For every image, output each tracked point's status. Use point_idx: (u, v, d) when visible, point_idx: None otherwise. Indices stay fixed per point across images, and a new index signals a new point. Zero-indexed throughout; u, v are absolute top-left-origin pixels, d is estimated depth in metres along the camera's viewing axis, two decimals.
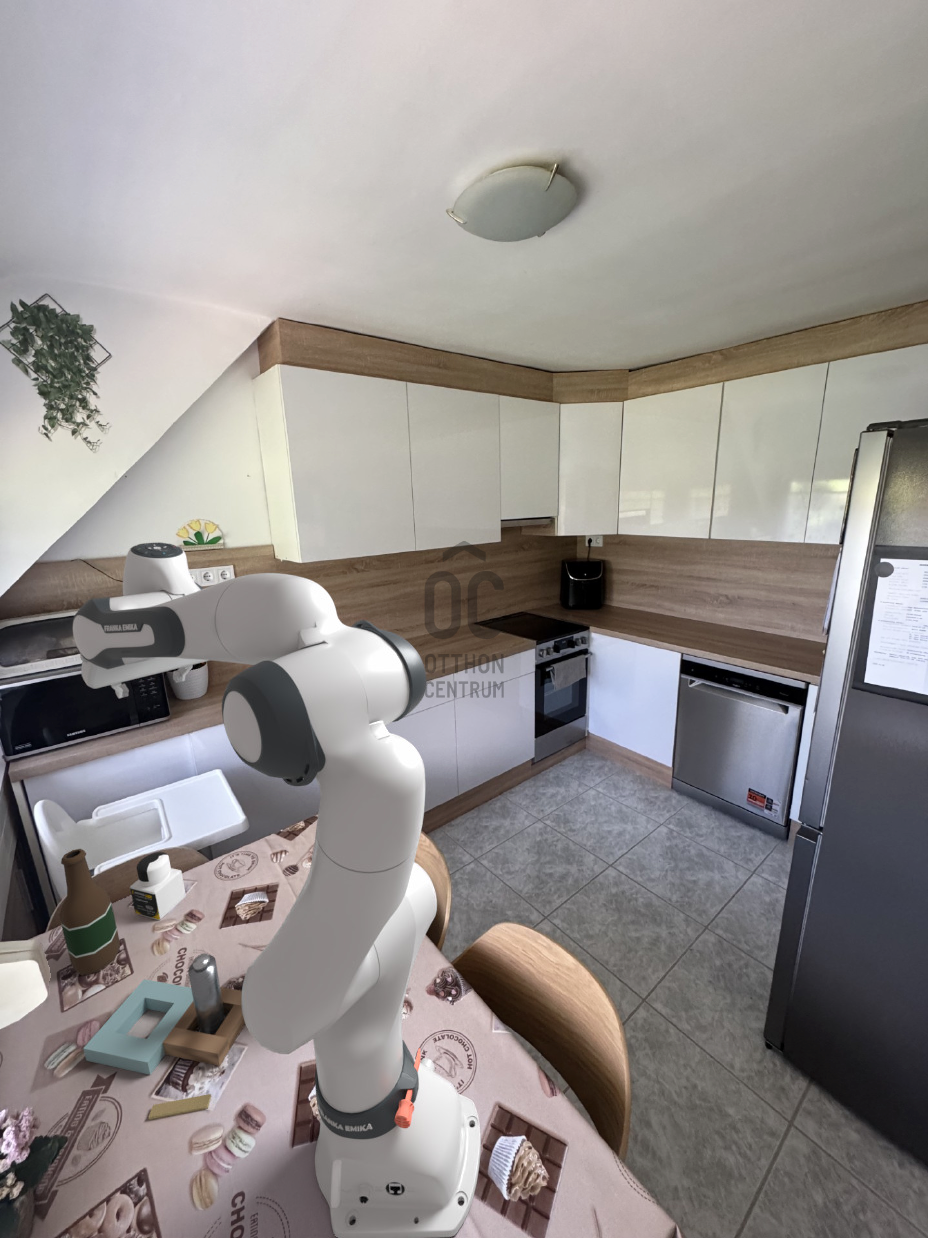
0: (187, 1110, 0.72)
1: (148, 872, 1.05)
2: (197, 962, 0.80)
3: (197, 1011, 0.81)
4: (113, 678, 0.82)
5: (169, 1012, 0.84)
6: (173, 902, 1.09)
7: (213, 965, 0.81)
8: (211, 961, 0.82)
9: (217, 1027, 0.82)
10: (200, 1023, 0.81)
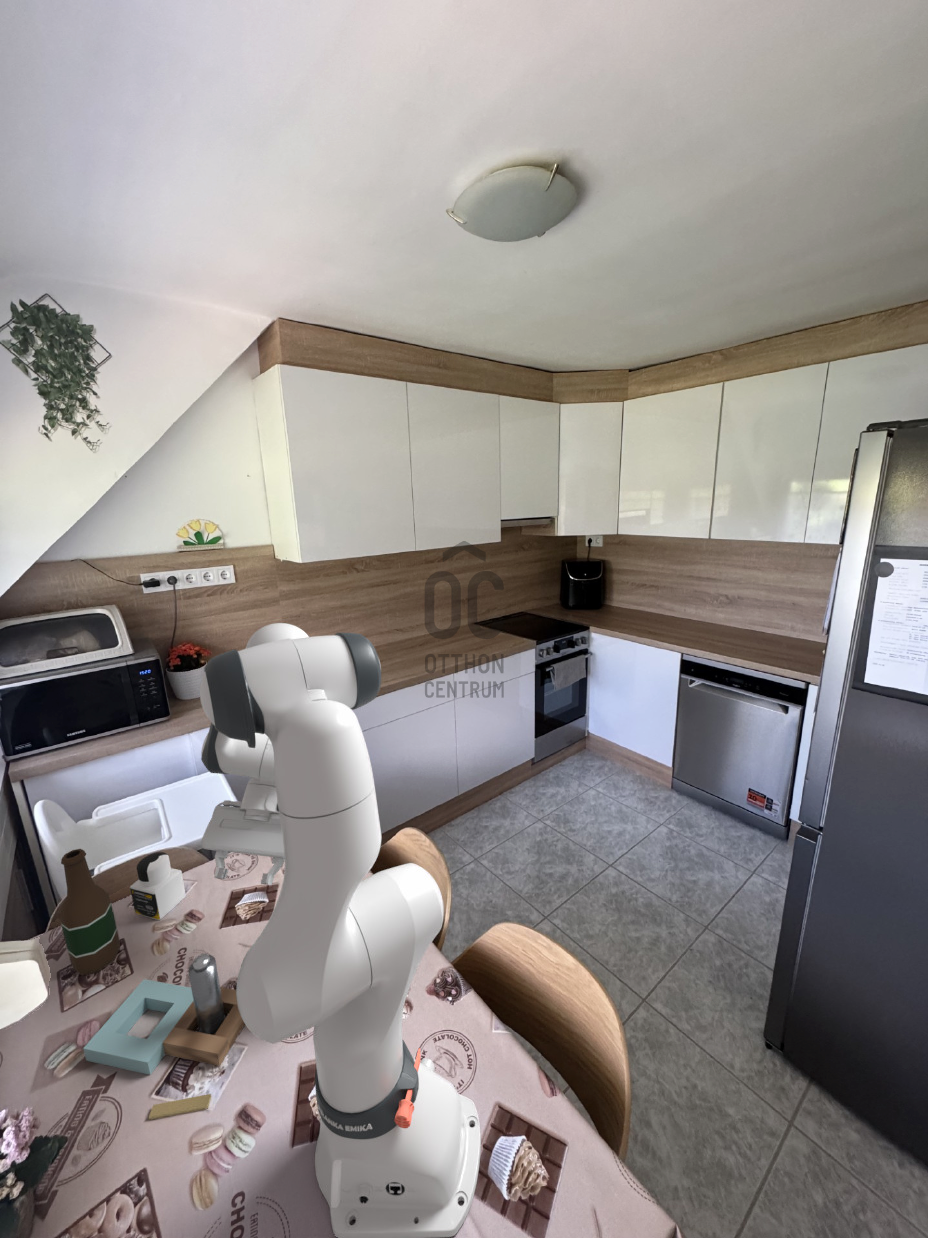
0: (188, 1110, 0.72)
1: (148, 872, 1.05)
2: (197, 962, 0.80)
3: (197, 1011, 0.81)
4: (217, 840, 0.95)
5: (169, 1012, 0.84)
6: (173, 902, 1.09)
7: (213, 965, 0.81)
8: (211, 961, 0.82)
9: (217, 1027, 0.82)
10: (200, 1023, 0.81)
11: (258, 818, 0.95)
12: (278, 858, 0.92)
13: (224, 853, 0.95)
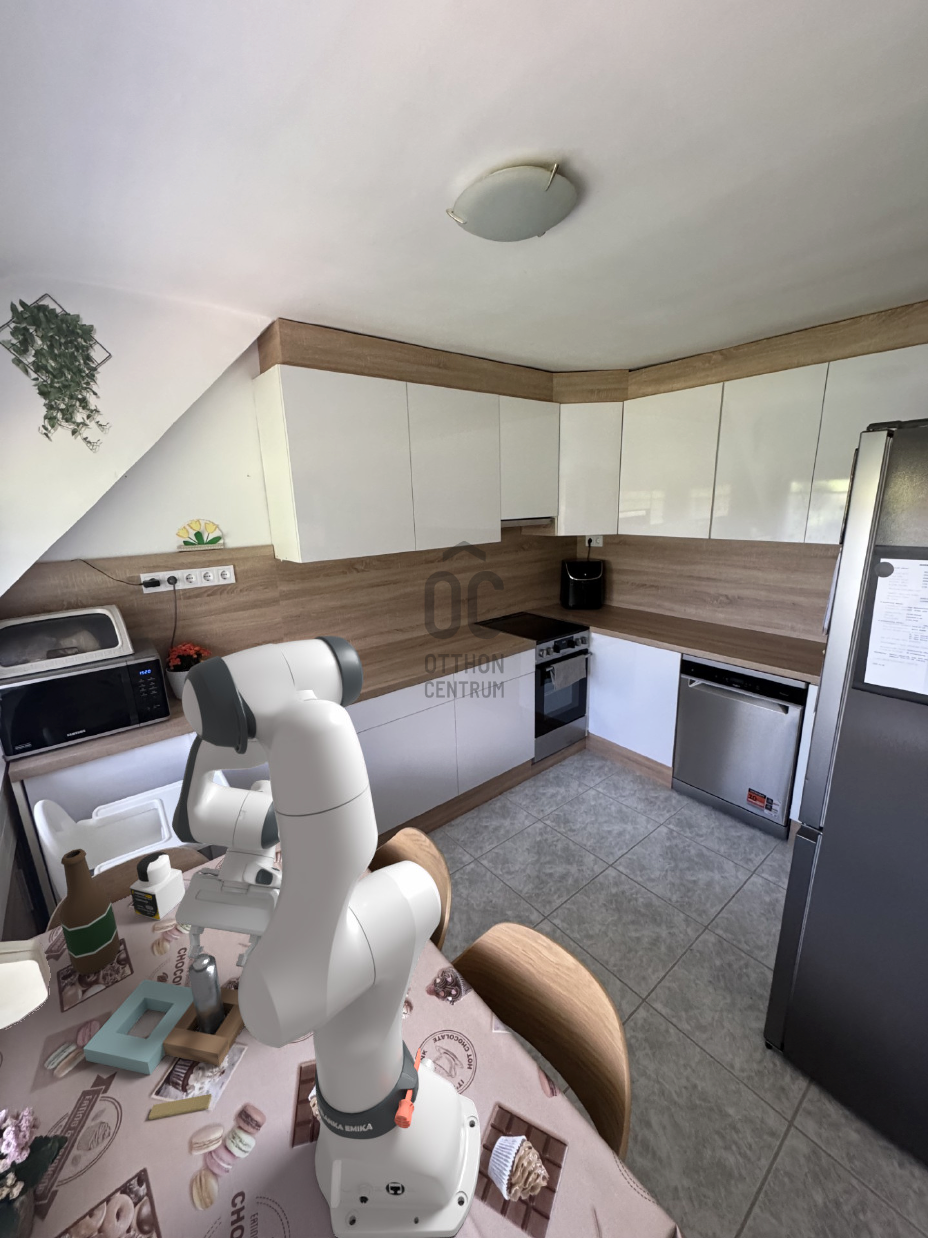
0: (188, 1110, 0.72)
1: (148, 872, 1.05)
2: (197, 962, 0.80)
3: (197, 1011, 0.81)
4: (192, 914, 0.87)
5: (169, 1012, 0.84)
6: (173, 902, 1.09)
7: (213, 965, 0.81)
8: (211, 961, 0.82)
9: (217, 1027, 0.82)
10: (200, 1023, 0.81)
11: (236, 890, 0.87)
12: (256, 936, 0.85)
13: (199, 929, 0.87)
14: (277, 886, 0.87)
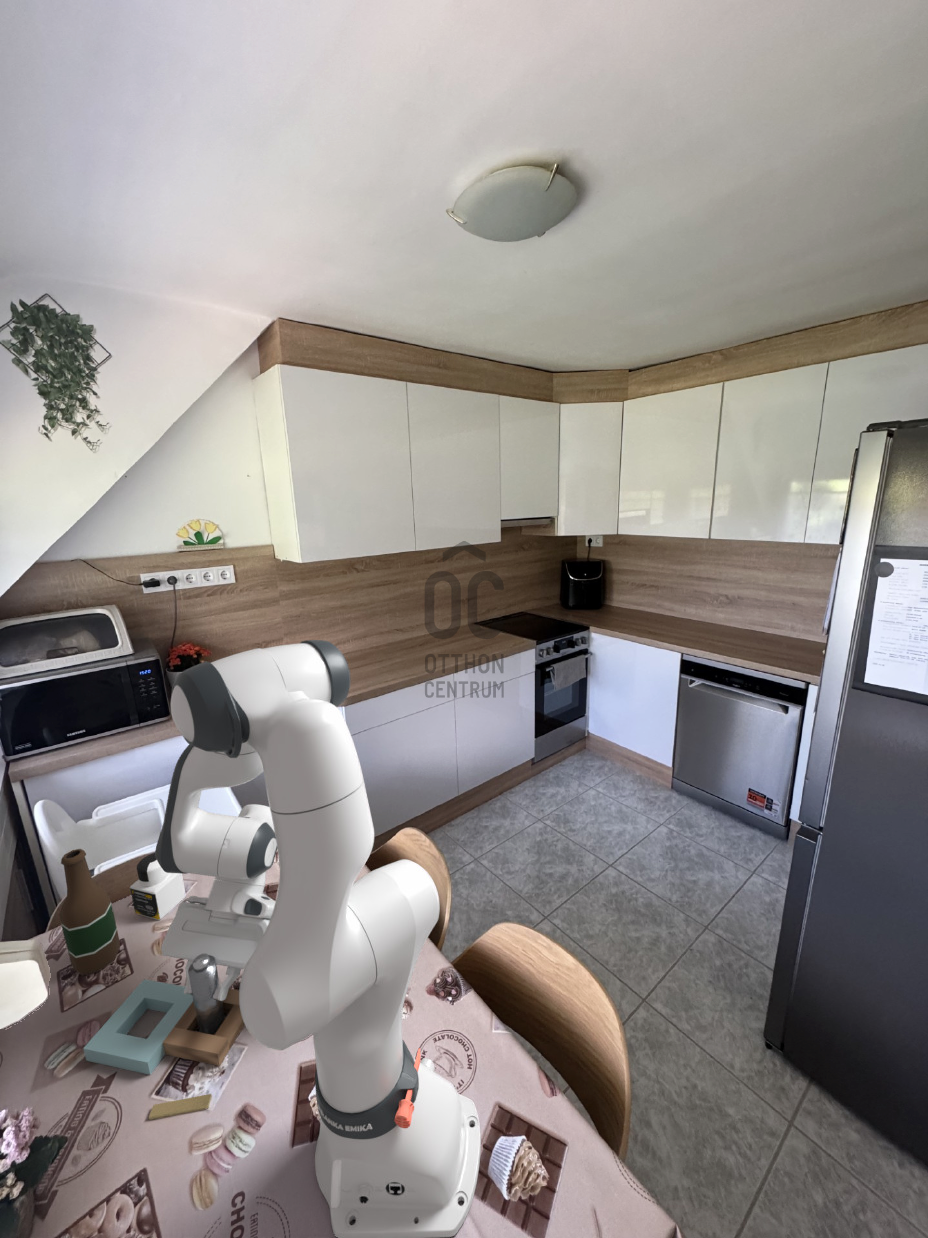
0: (188, 1110, 0.72)
1: (148, 872, 1.05)
2: (197, 962, 0.80)
3: (197, 1011, 0.81)
4: (178, 946, 0.84)
5: (169, 1012, 0.84)
6: (173, 902, 1.09)
7: (213, 965, 0.81)
8: (211, 961, 0.82)
9: (217, 1027, 0.82)
10: (200, 1023, 0.81)
11: (224, 921, 0.84)
12: (233, 968, 0.82)
13: None
14: (266, 917, 0.84)
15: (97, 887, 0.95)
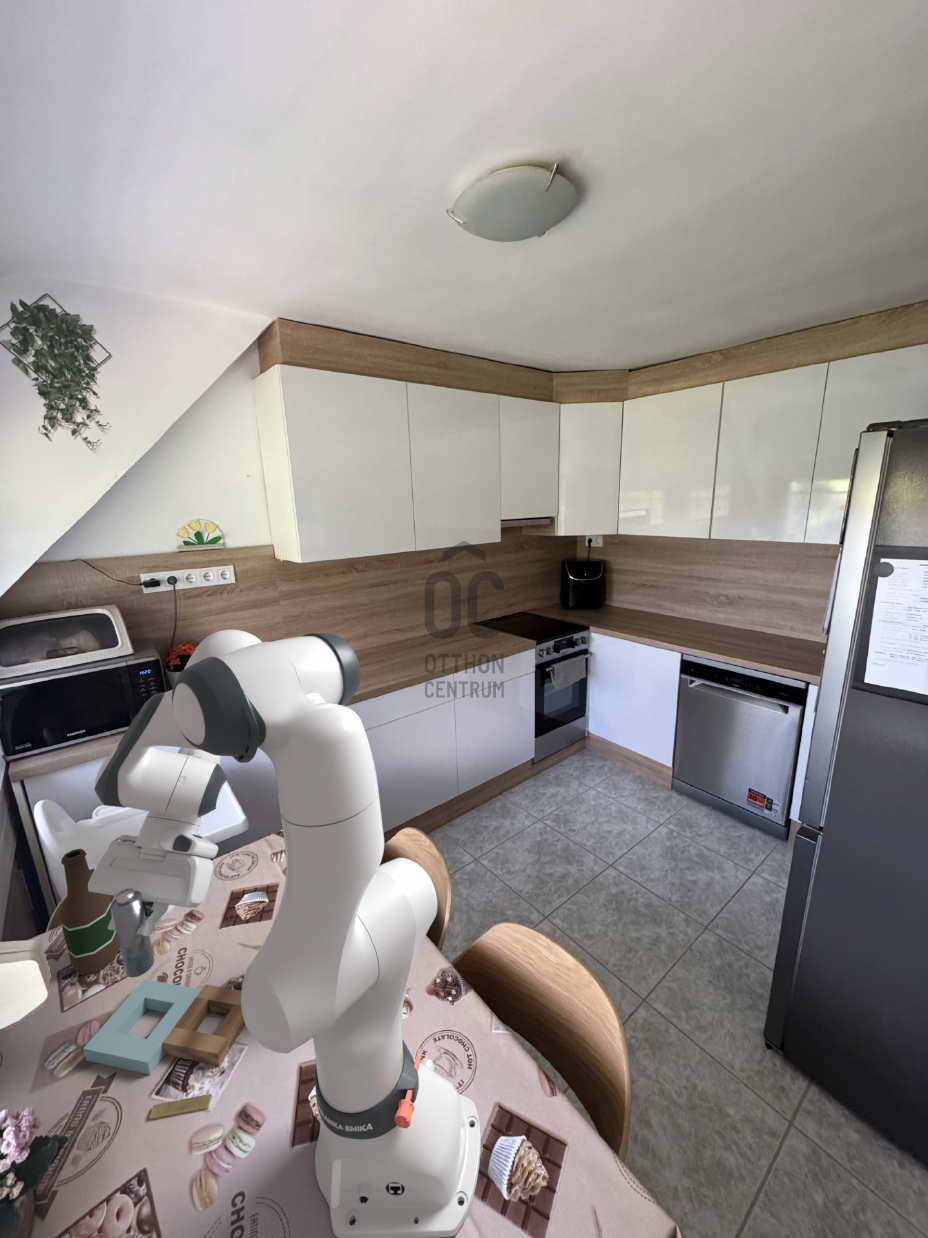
0: (188, 1110, 0.72)
1: None
2: (120, 896, 0.78)
3: (121, 946, 0.79)
4: (105, 882, 0.82)
5: (169, 1012, 0.84)
6: None
7: (138, 899, 0.79)
8: (136, 896, 0.79)
9: (143, 964, 0.80)
10: (125, 958, 0.79)
11: (152, 857, 0.82)
12: (159, 904, 0.80)
13: None
14: (196, 853, 0.82)
15: None
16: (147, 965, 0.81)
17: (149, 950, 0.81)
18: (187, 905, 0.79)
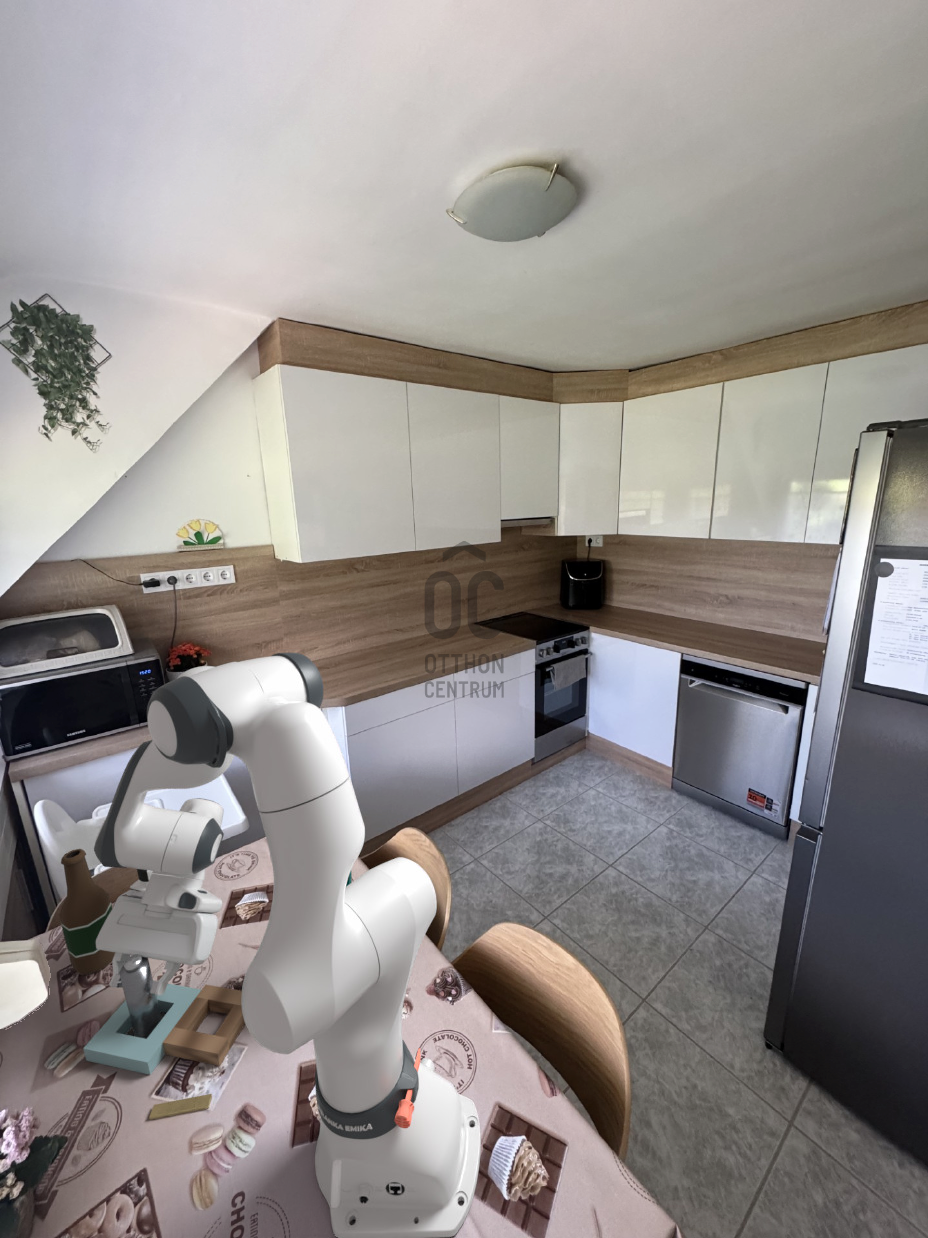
0: (188, 1110, 0.72)
1: (148, 872, 1.05)
2: (128, 963, 0.80)
3: (130, 1012, 0.81)
4: (112, 940, 0.84)
5: (169, 1012, 0.84)
6: None
7: (145, 966, 0.81)
8: (144, 962, 0.82)
9: (151, 1027, 0.82)
10: (133, 1023, 0.81)
11: (158, 915, 0.84)
12: (172, 963, 0.82)
13: (124, 956, 0.84)
14: (201, 910, 0.84)
15: (97, 887, 0.95)
16: None
17: (157, 1013, 0.83)
18: (193, 963, 0.81)
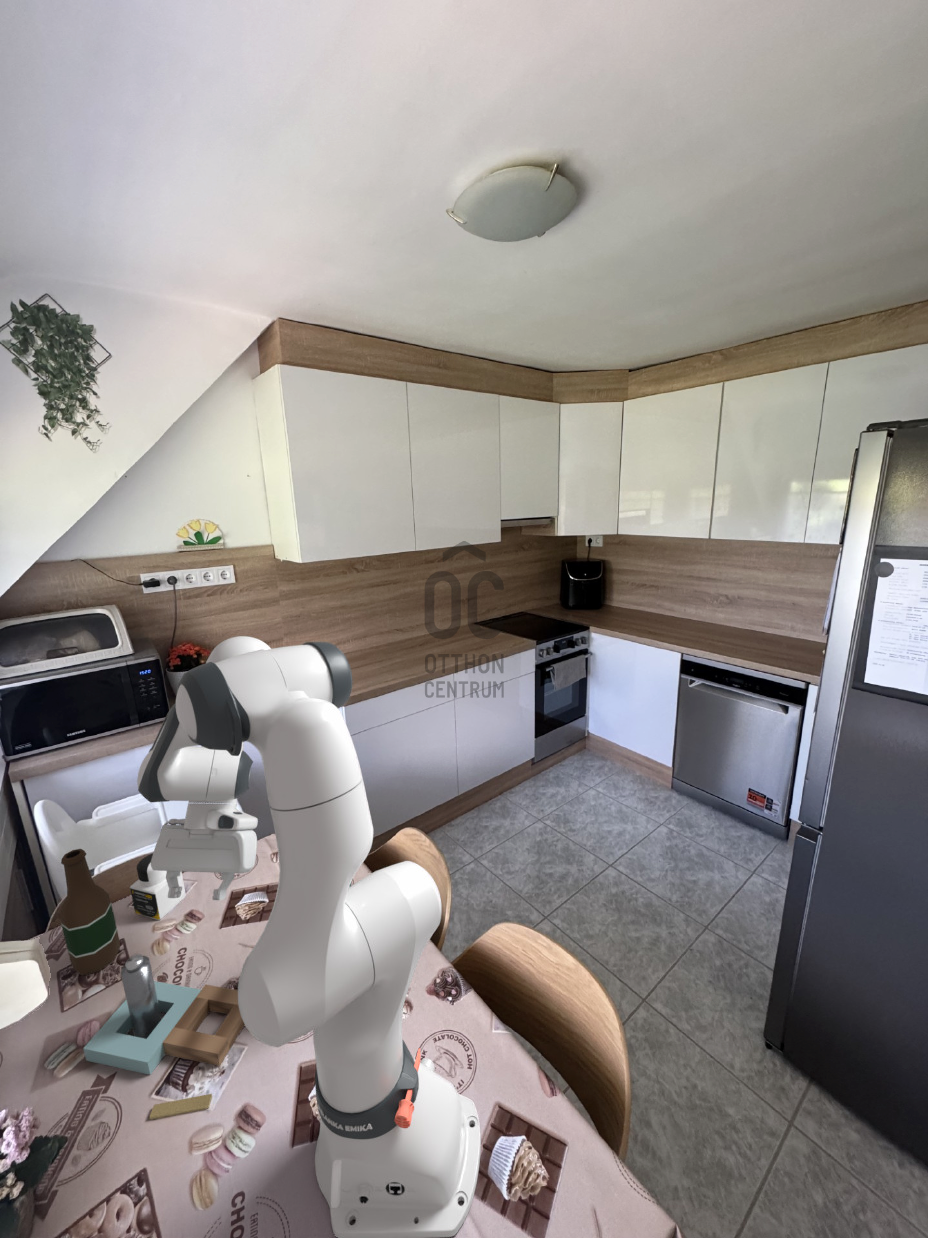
0: (188, 1109, 0.72)
1: (148, 872, 1.05)
2: (130, 963, 0.80)
3: (130, 1011, 0.81)
4: (165, 861, 0.94)
5: (169, 1012, 0.84)
6: (173, 902, 1.09)
7: (146, 966, 0.81)
8: (145, 962, 0.82)
9: (151, 1027, 0.82)
10: (134, 1023, 0.81)
11: (201, 837, 0.93)
12: (226, 874, 0.92)
13: (175, 872, 0.94)
14: (239, 828, 0.93)
15: (97, 887, 0.95)
16: None
17: (157, 1013, 0.83)
18: (241, 871, 0.91)
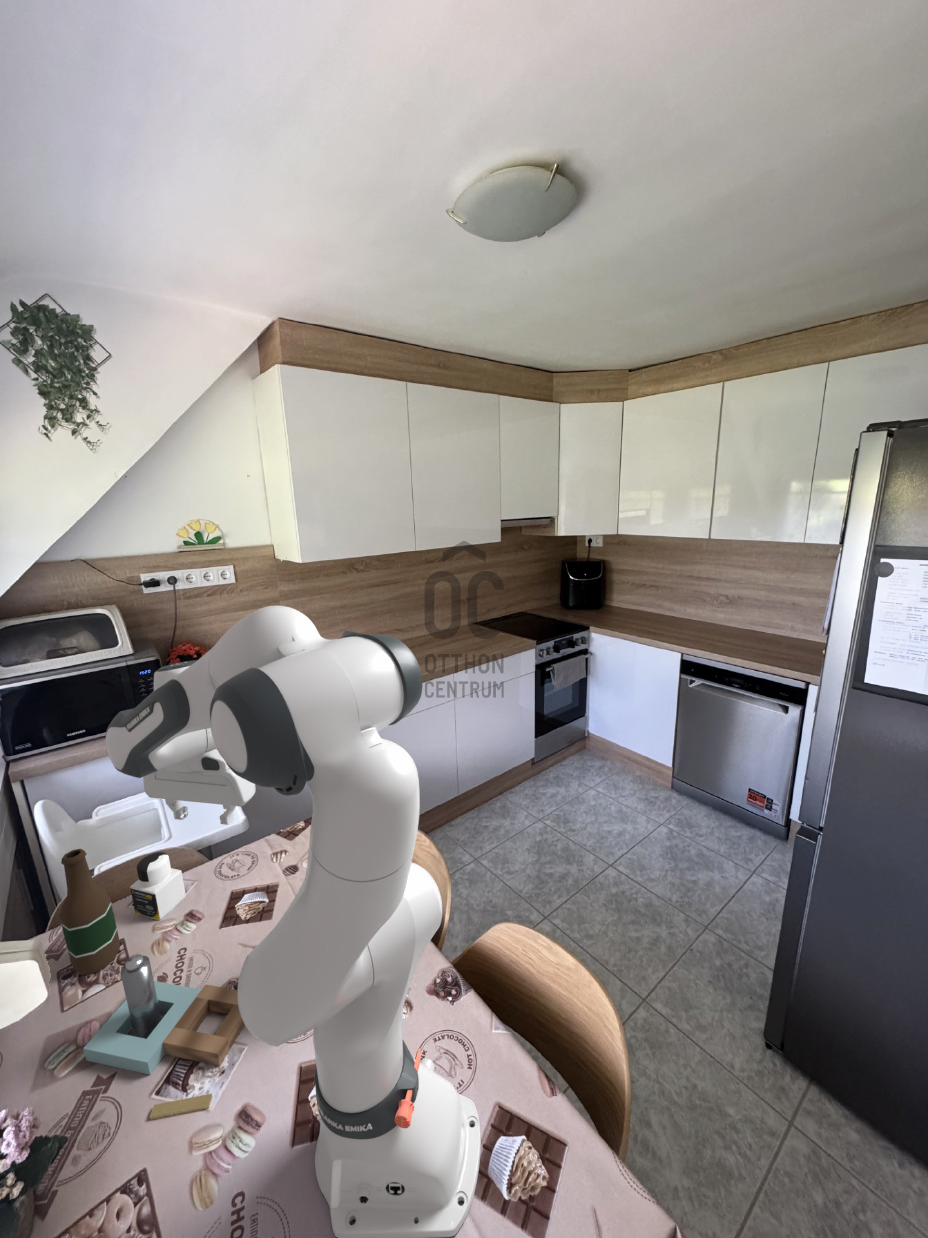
0: (188, 1109, 0.72)
1: (148, 872, 1.05)
2: (130, 962, 0.80)
3: (130, 1011, 0.81)
4: (159, 791, 0.88)
5: (169, 1012, 0.84)
6: (173, 902, 1.09)
7: (146, 965, 0.81)
8: (145, 961, 0.82)
9: (151, 1027, 0.82)
10: (134, 1023, 0.81)
11: (188, 775, 0.84)
12: (228, 804, 0.86)
13: None
14: (227, 768, 0.83)
15: (97, 887, 0.95)
16: None
17: (157, 1013, 0.83)
18: (242, 805, 0.85)
